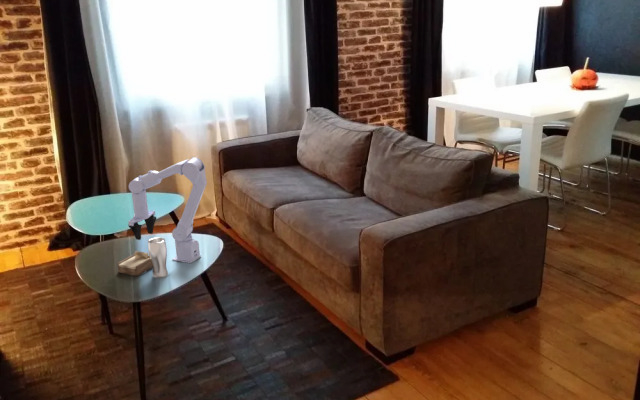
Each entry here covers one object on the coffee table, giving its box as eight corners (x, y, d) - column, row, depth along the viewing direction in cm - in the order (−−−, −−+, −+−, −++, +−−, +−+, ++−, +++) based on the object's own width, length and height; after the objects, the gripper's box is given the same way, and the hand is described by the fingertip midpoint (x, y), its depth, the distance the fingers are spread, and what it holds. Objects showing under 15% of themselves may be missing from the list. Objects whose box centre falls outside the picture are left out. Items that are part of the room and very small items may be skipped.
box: (155, 265, 253) (154, 256, 252) (138, 276, 243) (137, 266, 242) (136, 262, 257) (135, 253, 256) (118, 272, 247) (117, 263, 246)
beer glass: (160, 280, 239) (156, 244, 235) (147, 276, 243) (143, 241, 238) (172, 273, 245) (169, 239, 240) (160, 270, 248) (156, 236, 244)
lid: (151, 259, 251) (150, 253, 250) (134, 269, 242) (133, 262, 242) (135, 257, 254) (134, 250, 253) (119, 266, 246) (118, 259, 245)
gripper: (144, 200, 262) (148, 229, 266) (121, 210, 250) (125, 240, 254) (157, 201, 259) (161, 231, 263) (134, 212, 247) (138, 243, 251)
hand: (144, 236), depth 258 cm, fingers open, 7 cm apart
